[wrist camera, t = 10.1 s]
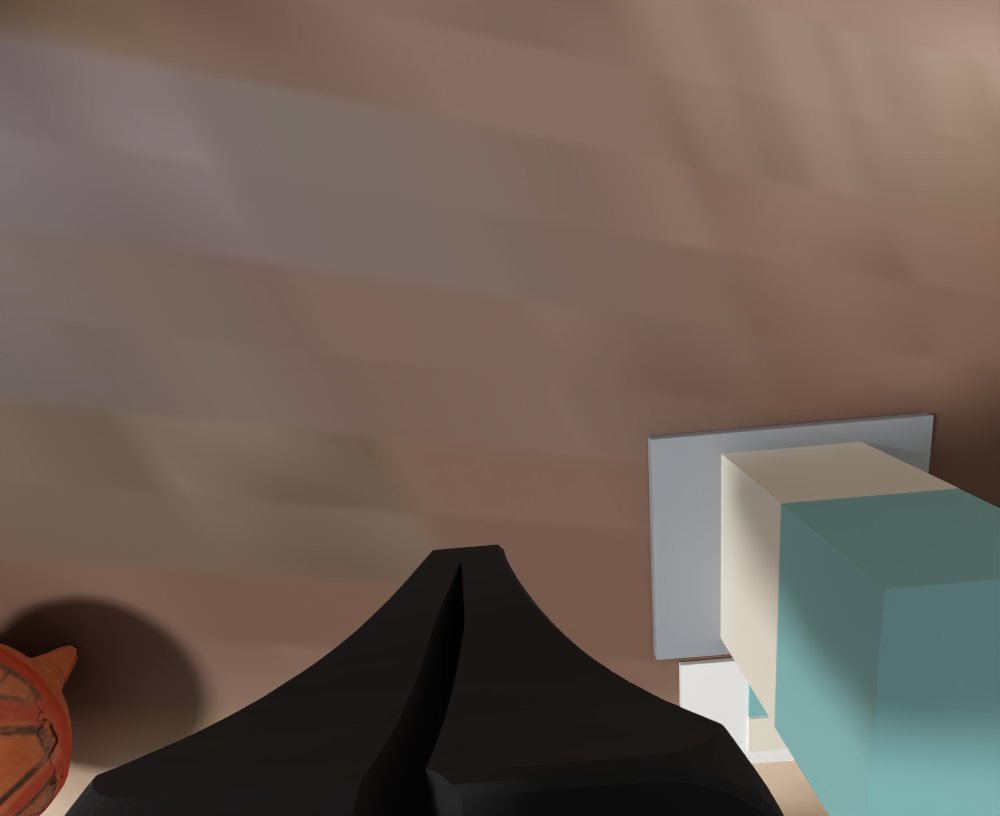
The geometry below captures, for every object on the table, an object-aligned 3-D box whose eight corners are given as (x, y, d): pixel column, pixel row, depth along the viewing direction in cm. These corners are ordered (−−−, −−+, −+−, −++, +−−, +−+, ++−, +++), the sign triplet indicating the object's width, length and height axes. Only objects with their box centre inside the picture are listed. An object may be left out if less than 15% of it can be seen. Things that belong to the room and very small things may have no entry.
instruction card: (871, 749, 25) (876, 755, 24) (680, 765, 25) (682, 771, 24) (880, 645, 23) (885, 650, 23) (679, 662, 23) (681, 667, 23)
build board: (906, 632, 23) (913, 638, 23) (653, 653, 23) (656, 659, 23) (925, 412, 21) (934, 415, 21) (648, 436, 21) (650, 439, 21)
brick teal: (934, 713, 18) (1073, 853, 14) (774, 726, 18) (862, 871, 14) (958, 488, 17) (1126, 568, 12) (781, 503, 17) (884, 588, 12)
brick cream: (849, 626, 23) (935, 713, 18) (720, 637, 23) (774, 726, 18) (861, 441, 21) (959, 488, 17) (721, 453, 21) (781, 503, 17)
